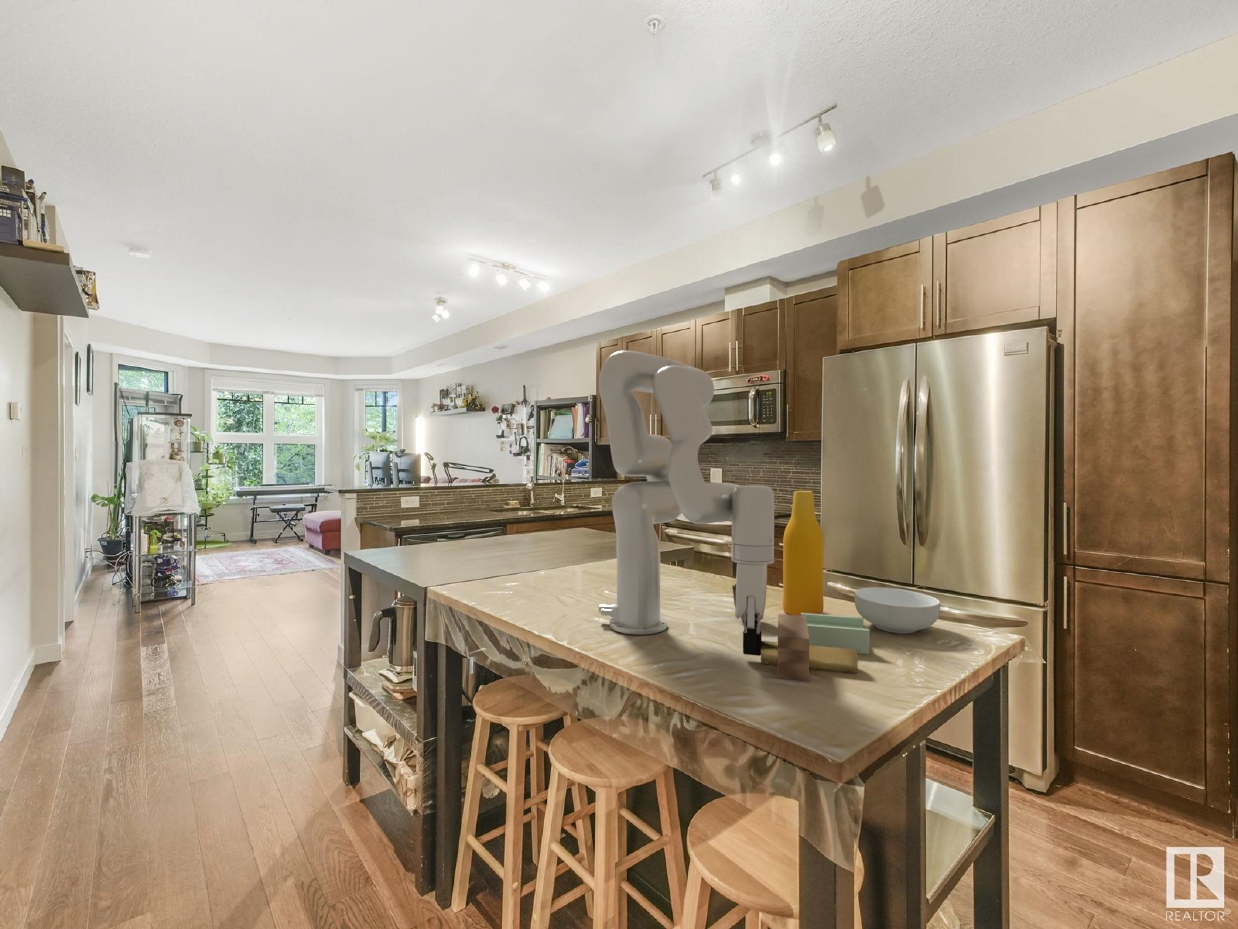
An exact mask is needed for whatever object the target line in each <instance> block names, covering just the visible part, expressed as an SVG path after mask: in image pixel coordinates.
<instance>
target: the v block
mask: <svg viewBox="0 0 1238 929" xmlns="http://www.w3.org/2000/svg"><path fill="white" fill-rule="evenodd" d="M801 616H806V621H807V628H808V634H809V645H814V646H825V647H836V648H847V649H856V650H857V654H859V655H860V654H862V655H870V636H871V635H870V628H865V627H864V622H865V619H864V618H863V617H862V616H860V617H859V616H846V615H834V614H823V613H822V614H810V613H801Z"/></svg>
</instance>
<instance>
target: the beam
mask: <svg viewBox="0 0 1238 929" xmlns="http://www.w3.org/2000/svg"><path fill="white" fill-rule="evenodd" d="M777 615H778V616H777V617H778V618H777V619H778V620H777V642H778V665H777V678H778V679H787V680H795V681H796V680H797V681H804V682H805V681H806V682H809V681H810V668H809V634H808V628H807V621H806V616H799V615H789V614H787V613H786V614H783V613H778V614H777Z"/></svg>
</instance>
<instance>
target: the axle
mask: <svg viewBox="0 0 1238 929" xmlns="http://www.w3.org/2000/svg"><path fill="white" fill-rule="evenodd" d="M858 658H859V657H858V653H857V650H856V649H847V648H836V647H825V646H814V645H809V670H810V669H811V670H812V669H813V670H820V671H821V670H822V671H829V672H831V671H832V672H838V673H839V672H842V673H849V674H850V673H851V674H858V669H859V668H858V667H859V666H858V665H859V660H858ZM760 664H761V665H762V664H763V665H771V666H772V665H773V666H778V641H767V640H761V655H760Z"/></svg>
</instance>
